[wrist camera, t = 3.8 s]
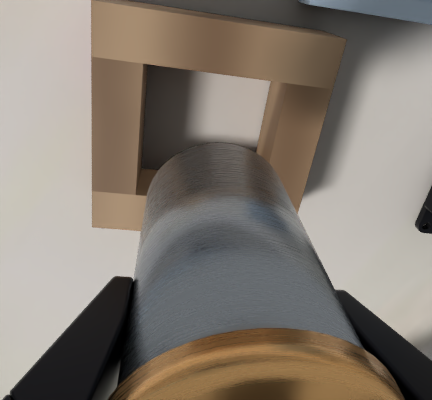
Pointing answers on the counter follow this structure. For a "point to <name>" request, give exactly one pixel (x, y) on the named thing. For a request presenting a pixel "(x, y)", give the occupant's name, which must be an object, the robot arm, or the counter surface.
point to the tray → (383, 8)
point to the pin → (236, 294)
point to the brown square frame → (205, 62)
